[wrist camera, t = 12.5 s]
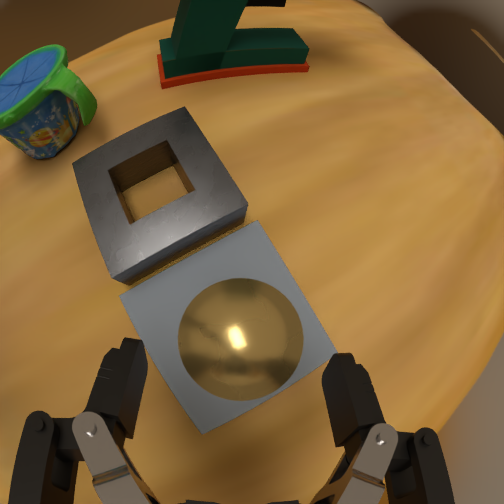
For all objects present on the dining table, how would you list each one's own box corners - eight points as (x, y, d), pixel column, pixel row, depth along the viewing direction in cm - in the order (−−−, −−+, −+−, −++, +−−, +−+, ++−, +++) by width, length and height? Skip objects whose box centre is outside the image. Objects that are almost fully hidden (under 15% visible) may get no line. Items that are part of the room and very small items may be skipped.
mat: (121, 296, 21) (119, 295, 20) (256, 222, 24) (257, 219, 23) (202, 432, 19) (202, 434, 18) (335, 352, 22) (337, 352, 21)
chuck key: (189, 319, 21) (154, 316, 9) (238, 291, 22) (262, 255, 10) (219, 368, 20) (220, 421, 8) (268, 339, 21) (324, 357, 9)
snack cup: (127, 108, 26) (105, 38, 16) (77, 188, 23) (26, 127, 13) (42, 99, 25) (15, 50, 15) (0, 162, 22) (-42, 120, 12)
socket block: (88, 184, 23) (72, 163, 19) (187, 133, 25) (184, 106, 22) (128, 285, 21) (111, 277, 17) (243, 222, 24) (248, 203, 20)
